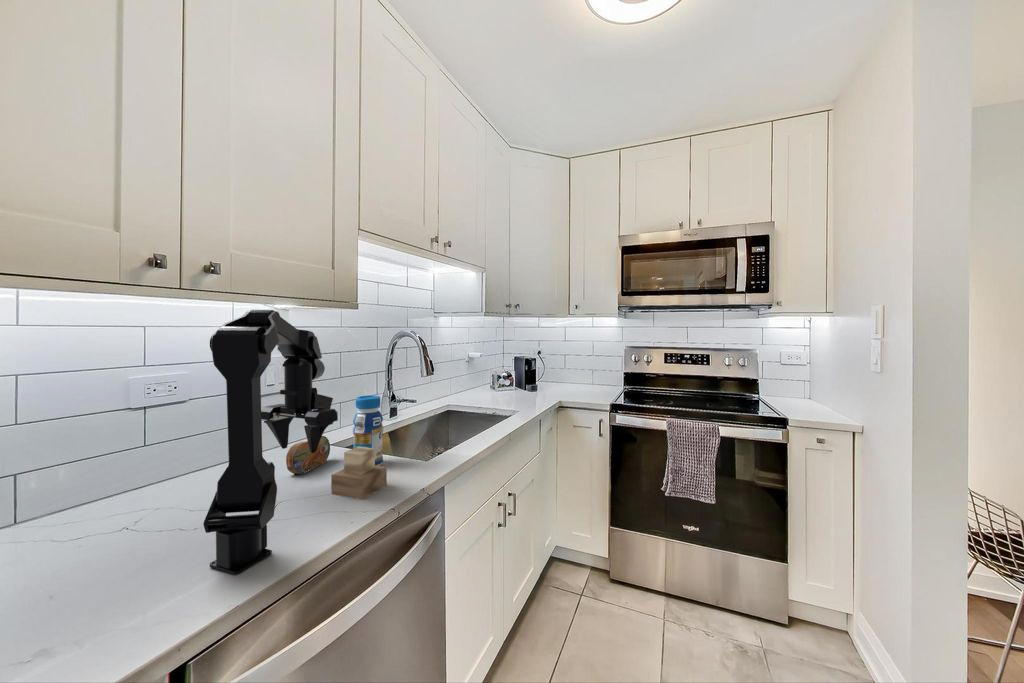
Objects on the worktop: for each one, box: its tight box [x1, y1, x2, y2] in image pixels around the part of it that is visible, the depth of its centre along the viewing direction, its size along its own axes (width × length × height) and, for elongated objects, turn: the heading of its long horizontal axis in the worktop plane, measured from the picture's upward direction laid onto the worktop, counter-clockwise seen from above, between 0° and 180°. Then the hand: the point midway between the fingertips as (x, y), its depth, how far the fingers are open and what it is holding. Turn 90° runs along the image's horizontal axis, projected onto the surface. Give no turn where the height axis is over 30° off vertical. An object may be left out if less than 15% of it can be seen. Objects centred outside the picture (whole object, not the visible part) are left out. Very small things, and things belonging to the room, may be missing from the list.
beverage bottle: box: [352, 394, 384, 466], centre depth 113 cm, size 8×8×20 cm
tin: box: [285, 435, 331, 475], centre depth 110 cm, size 15×3×8 cm, turn 168°
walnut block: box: [330, 465, 388, 500], centre depth 96 cm, size 9×9×5 cm
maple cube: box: [343, 447, 375, 475], centre depth 96 cm, size 5×5×5 cm
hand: (298, 450), depth 91 cm, fingers open, 9 cm apart
